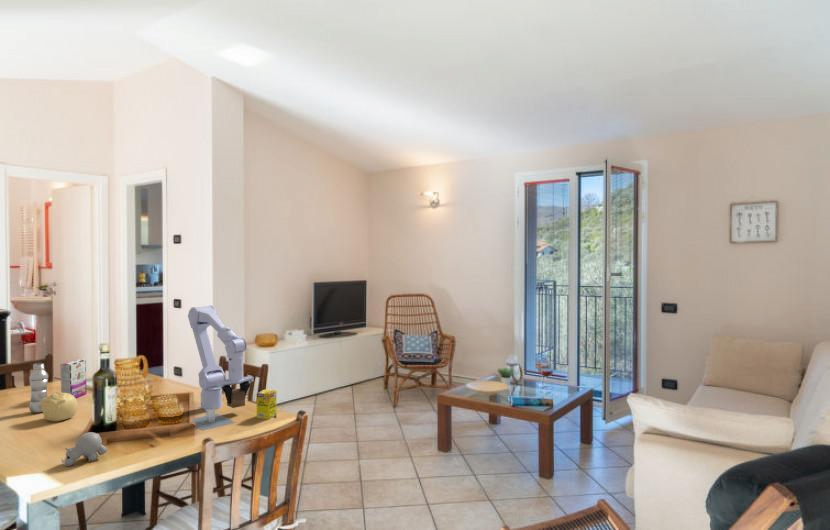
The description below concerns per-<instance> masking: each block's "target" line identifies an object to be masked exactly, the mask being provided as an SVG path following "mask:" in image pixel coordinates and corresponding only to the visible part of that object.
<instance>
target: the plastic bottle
mask: <svg viewBox="0 0 830 530" xmlns="http://www.w3.org/2000/svg"><path fill="white" fill-rule="evenodd" d="M32 366H33V367H32V369H33V371H32V372H31V374H30V375H29V377H28V380H29V385H30V386H29V387H30V401H29V406H28V408H29V411H30V413H31V414H32V413H33V414H36V413H38V414H39V413H43V411H42V409H41V404H40V402H41V400H42V399H44V398H45V397H46V396H48V382H49V373H48V372H47V371H46V370H45V363H43V362H42V363H40V362H38V363H34V364H32Z"/></svg>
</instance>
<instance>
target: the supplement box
mask: <svg viewBox="0 0 830 530" xmlns="http://www.w3.org/2000/svg"><path fill="white" fill-rule="evenodd" d="M256 418H257V419H265V420H270V419H272V418H274V419H275V418H277V390H276V389H274V390H273V389H263V390H261V391H258V392H256Z"/></svg>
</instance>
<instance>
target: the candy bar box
mask: <svg viewBox="0 0 830 530" xmlns="http://www.w3.org/2000/svg"><path fill="white" fill-rule="evenodd" d="M86 360H87V359H86V358H85V359H78V358H76V359H72V360H70V361H68V362H64V363H61V364H60V367H59V368H60V393H69V394H71V395H73V396H74V397H75V398H76V399H77V398H80V397H82V396H85V395H86V394H87V393H88V392H87V369H86V368H87V365H86V363H87V361H86Z"/></svg>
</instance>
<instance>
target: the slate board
mask: <svg viewBox="0 0 830 530" xmlns="http://www.w3.org/2000/svg"><path fill="white" fill-rule="evenodd" d="M193 419H194V423H195V426H194V427H195V428H197V429H199V430H201V431H206V430H210V429H215V428H218V427H219V428H220V427H224V426H229V425H232V424H235V423H236V421H234V420H231V419H230V418H227V417H226V416H223V415H221V414H219V413H215V422H211V423H207V422H206V415H205V416H200V417H196V418H193Z"/></svg>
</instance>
